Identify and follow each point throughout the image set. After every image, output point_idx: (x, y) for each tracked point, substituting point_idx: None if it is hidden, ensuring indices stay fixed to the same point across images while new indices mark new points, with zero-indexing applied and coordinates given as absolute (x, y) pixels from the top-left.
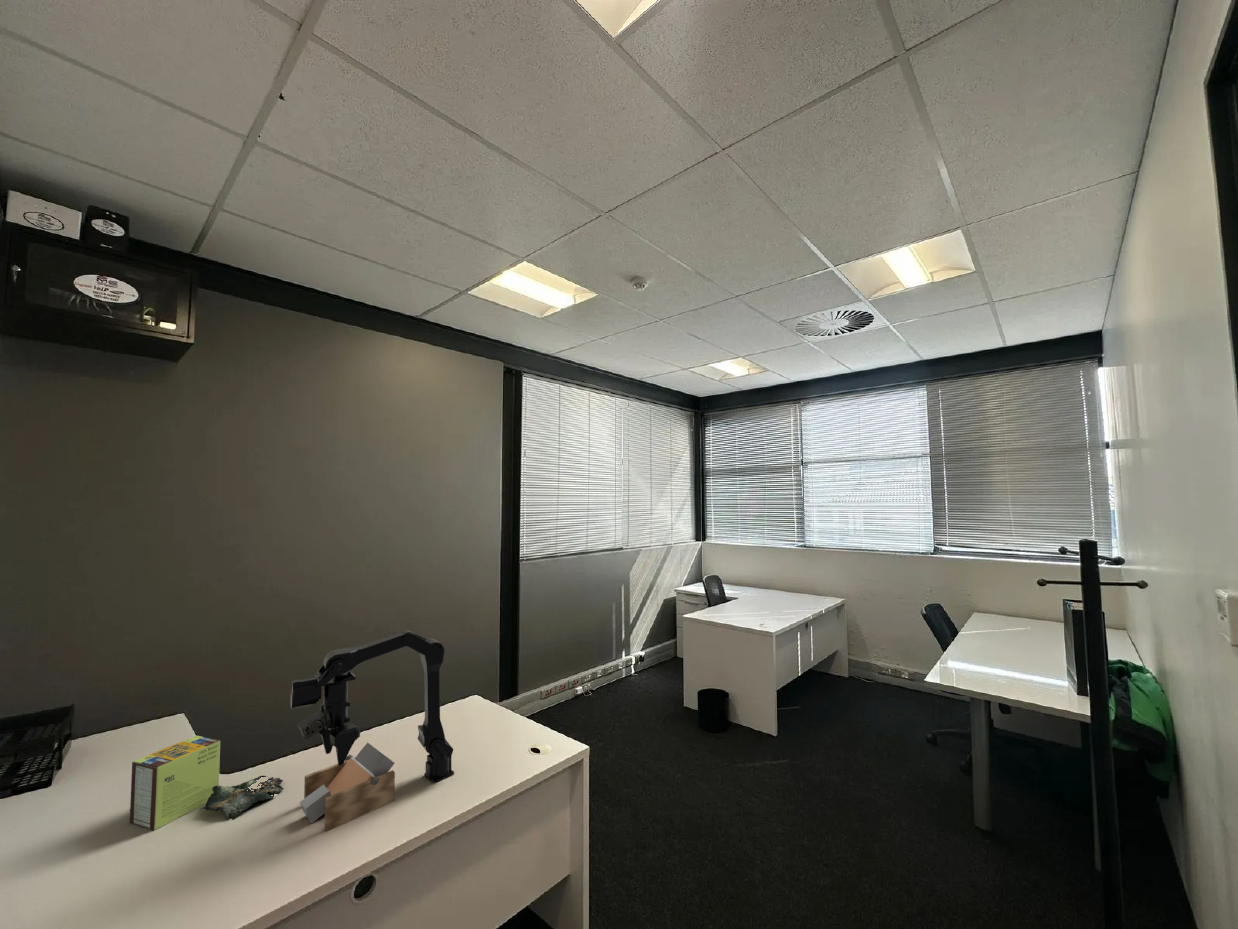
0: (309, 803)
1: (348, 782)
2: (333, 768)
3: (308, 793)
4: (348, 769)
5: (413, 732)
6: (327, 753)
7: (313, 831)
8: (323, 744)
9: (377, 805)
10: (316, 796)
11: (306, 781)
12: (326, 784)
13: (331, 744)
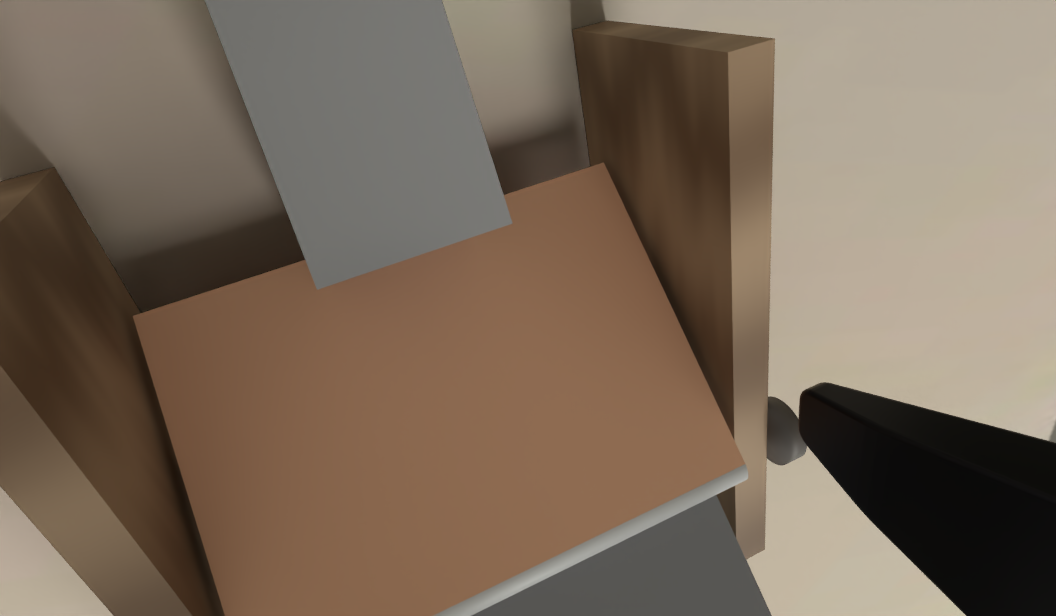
0: (279, 56)
1: (453, 425)
2: (725, 316)
3: (623, 62)
4: (623, 434)
5: (906, 561)
6: (805, 407)
7: (65, 67)
8: (1008, 435)
9: None
10: (350, 142)
11: (699, 52)
12: (649, 216)
13: (913, 533)
